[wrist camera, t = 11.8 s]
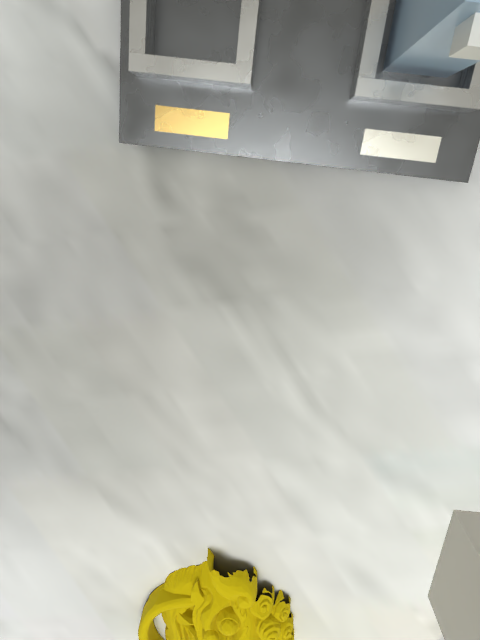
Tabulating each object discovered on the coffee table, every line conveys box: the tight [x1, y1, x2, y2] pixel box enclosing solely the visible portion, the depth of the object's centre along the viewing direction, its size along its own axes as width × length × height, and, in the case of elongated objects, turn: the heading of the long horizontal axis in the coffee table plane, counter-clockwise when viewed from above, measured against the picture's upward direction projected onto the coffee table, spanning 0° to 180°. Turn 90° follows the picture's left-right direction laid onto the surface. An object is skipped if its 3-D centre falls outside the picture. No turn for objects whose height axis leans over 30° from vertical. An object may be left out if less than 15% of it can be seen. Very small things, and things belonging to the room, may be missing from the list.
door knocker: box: [138, 548, 294, 640], centre depth 46 cm, size 16×16×4 cm
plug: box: [383, 0, 480, 78], centre depth 21 cm, size 4×5×13 cm
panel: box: [119, 0, 480, 183], centre depth 27 cm, size 24×16×3 cm, turn 84°
